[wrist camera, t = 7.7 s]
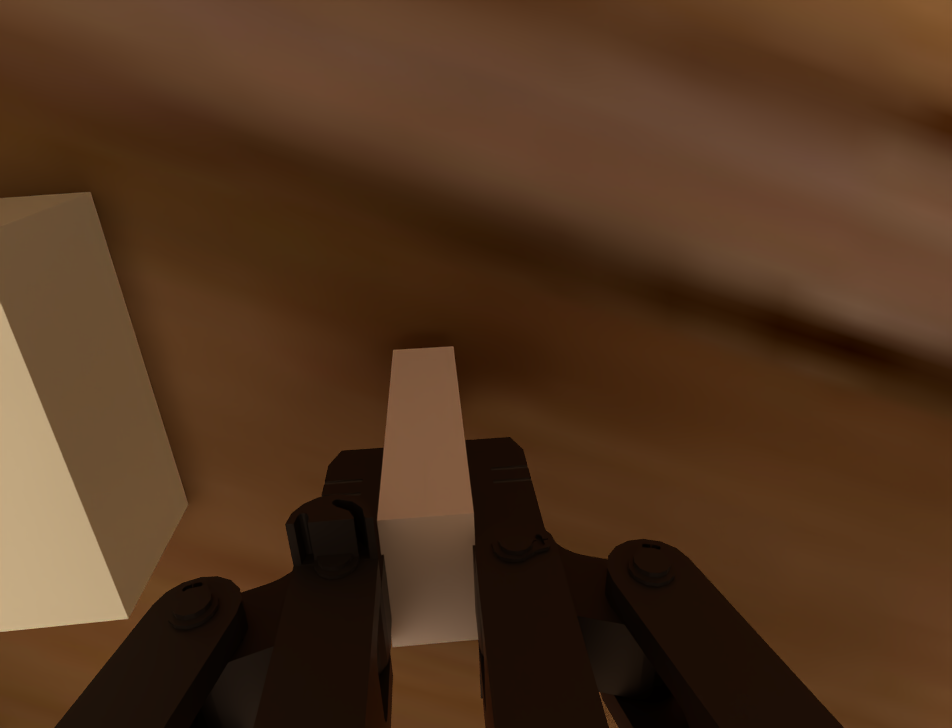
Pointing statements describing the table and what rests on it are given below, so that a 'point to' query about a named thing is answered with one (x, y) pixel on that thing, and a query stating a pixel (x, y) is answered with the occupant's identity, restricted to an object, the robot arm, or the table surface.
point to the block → (74, 426)
